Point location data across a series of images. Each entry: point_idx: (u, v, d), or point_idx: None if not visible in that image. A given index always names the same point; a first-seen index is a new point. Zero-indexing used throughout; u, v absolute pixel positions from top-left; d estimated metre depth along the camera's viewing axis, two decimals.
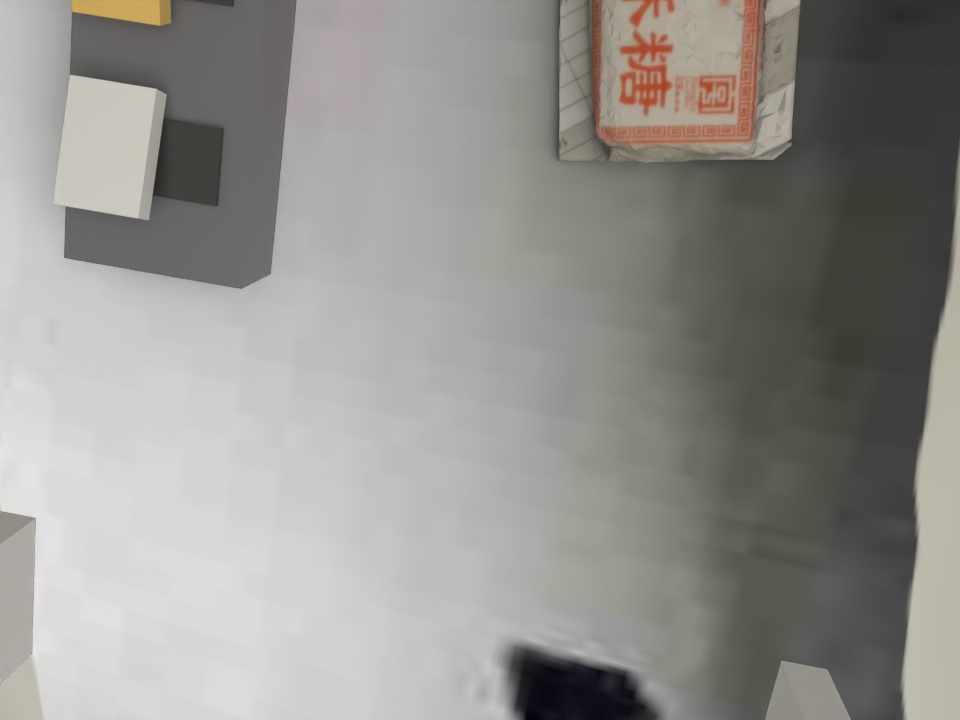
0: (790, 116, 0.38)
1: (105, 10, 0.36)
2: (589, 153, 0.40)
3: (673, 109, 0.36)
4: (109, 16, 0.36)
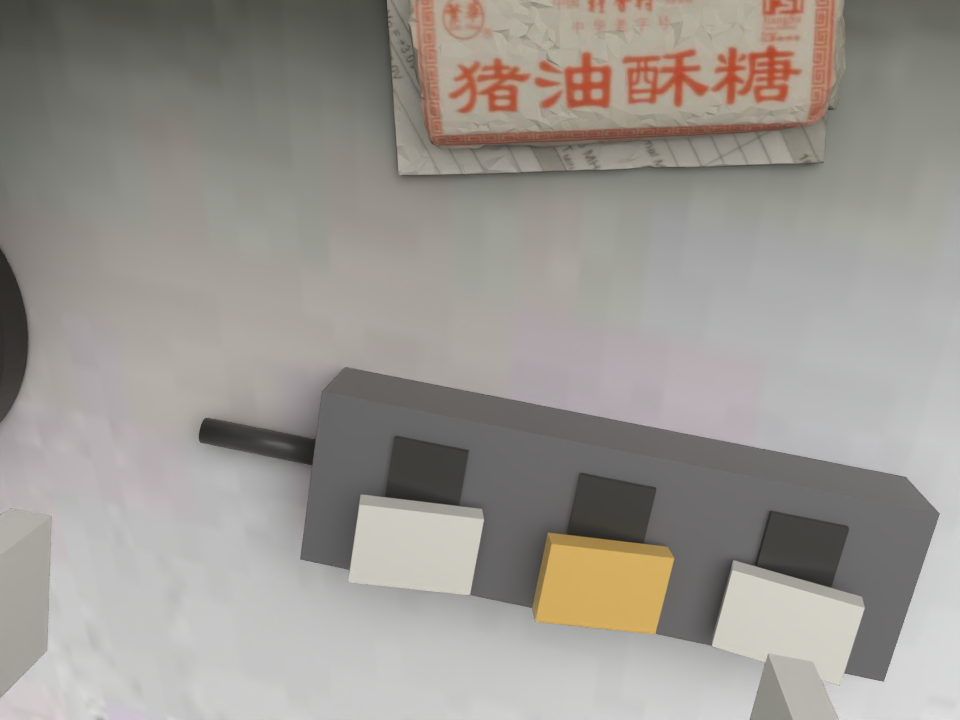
0: None
1: (656, 604, 0.38)
2: (819, 129, 0.37)
3: (796, 41, 0.33)
4: (662, 602, 0.38)
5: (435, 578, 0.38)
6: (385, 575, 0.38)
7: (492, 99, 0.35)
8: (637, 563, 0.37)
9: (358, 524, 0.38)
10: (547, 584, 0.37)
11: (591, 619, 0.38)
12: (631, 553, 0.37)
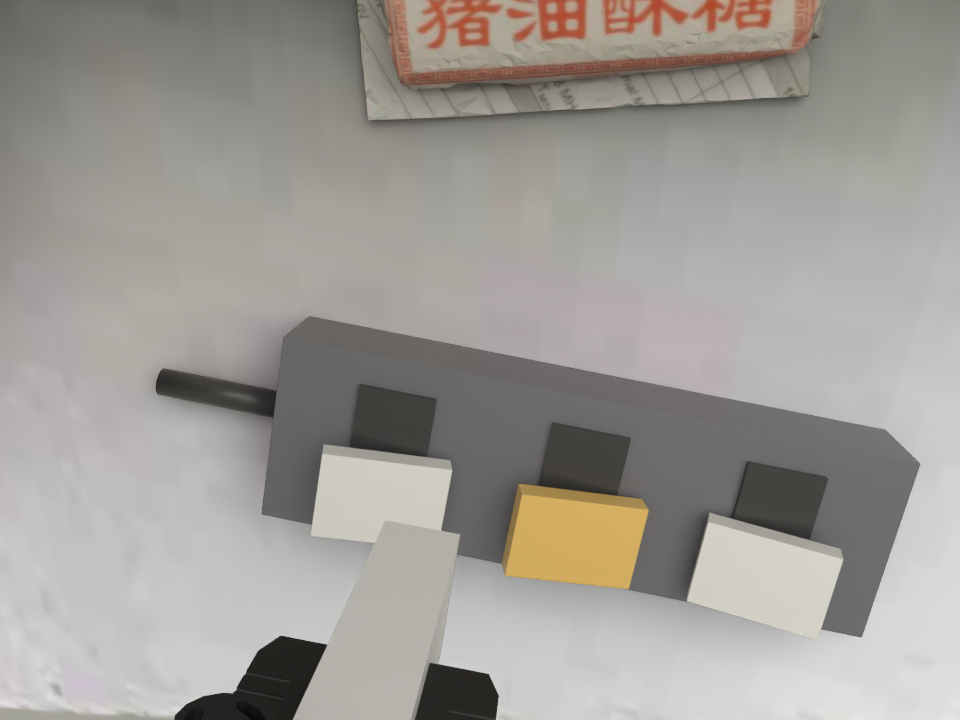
0: None
1: (630, 558, 0.37)
2: (803, 61, 0.36)
3: None
4: (636, 555, 0.37)
5: None
6: (349, 528, 0.37)
7: (463, 32, 0.33)
8: (611, 515, 0.36)
9: (321, 474, 0.36)
10: (517, 536, 0.36)
11: (563, 573, 0.37)
12: (604, 504, 0.36)
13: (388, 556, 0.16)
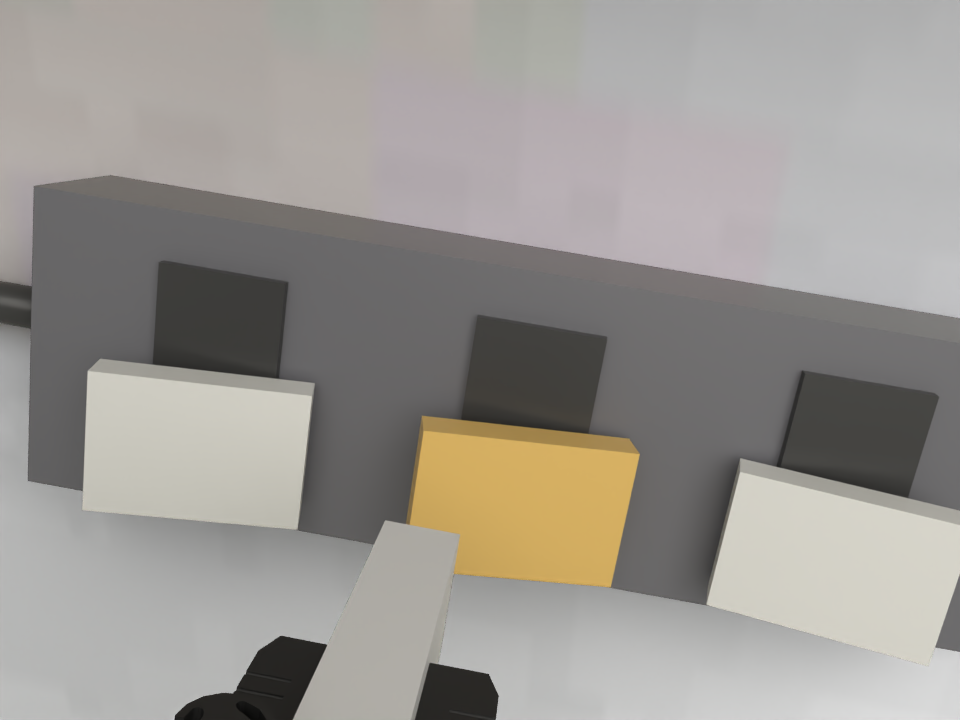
0: None
1: (611, 536, 0.22)
2: None
3: None
4: (621, 531, 0.22)
5: (235, 502, 0.23)
6: (145, 496, 0.22)
7: None
8: (576, 464, 0.22)
9: (89, 407, 0.21)
10: (420, 503, 0.21)
11: (500, 563, 0.22)
12: (565, 446, 0.21)
13: (388, 556, 0.16)
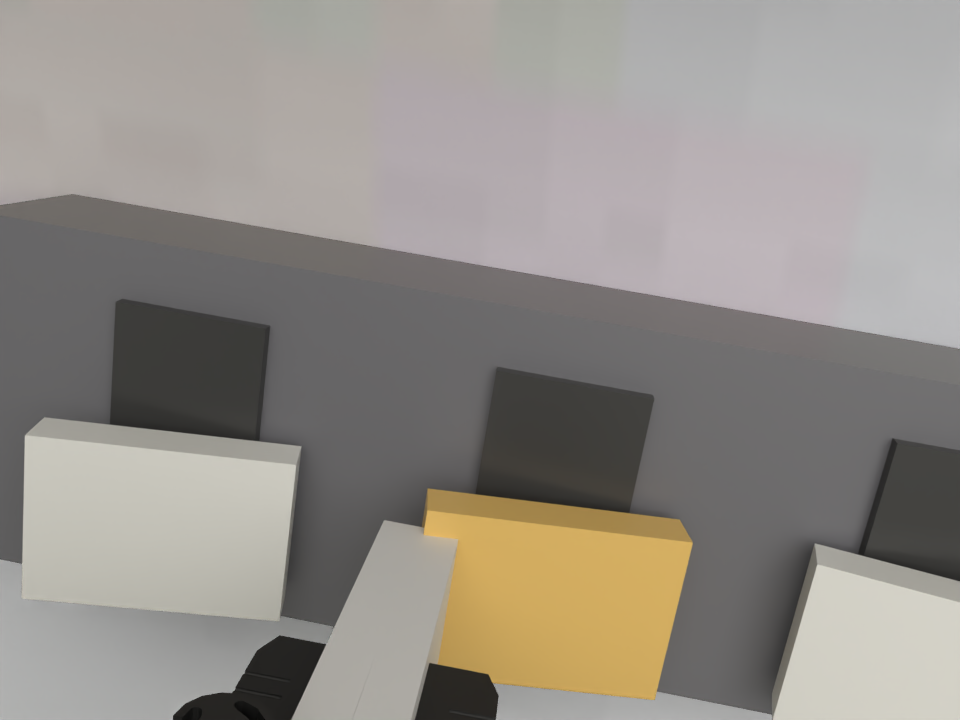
0: None
1: (657, 640, 0.18)
2: None
3: None
4: (668, 634, 0.18)
5: (205, 589, 0.19)
6: (97, 583, 0.19)
7: None
8: (614, 554, 0.18)
9: (28, 478, 0.18)
10: None
11: (520, 669, 0.18)
12: (600, 532, 0.17)
13: (386, 556, 0.16)
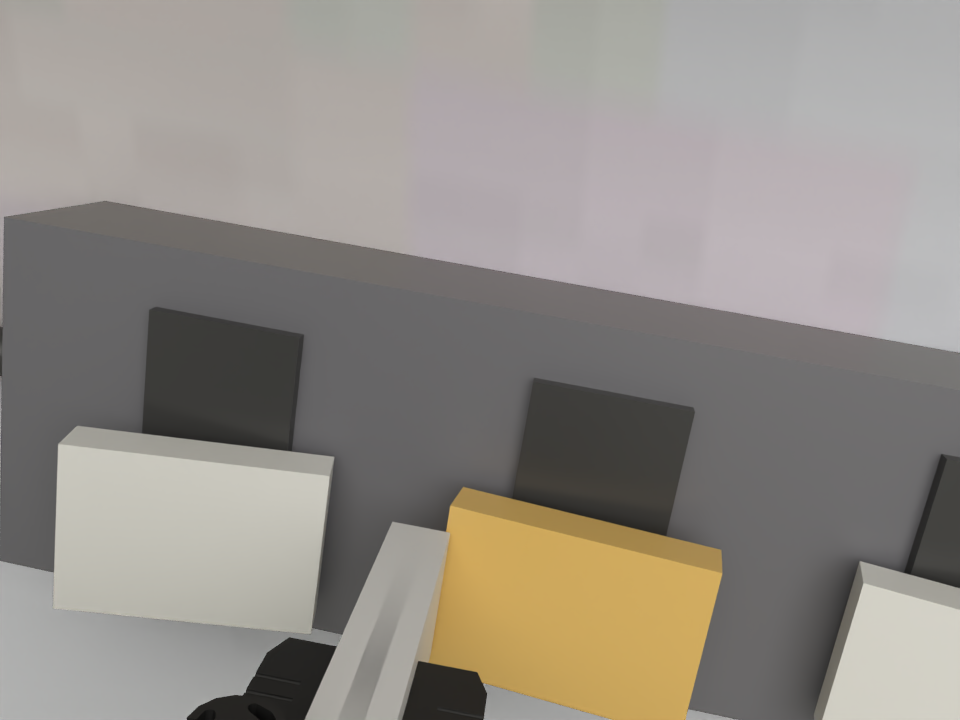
0: None
1: (682, 674, 0.17)
2: None
3: None
4: (695, 670, 0.17)
5: (236, 601, 0.19)
6: (128, 593, 0.18)
7: None
8: (636, 574, 0.17)
9: (61, 487, 0.18)
10: (445, 591, 0.18)
11: (539, 681, 0.18)
12: (623, 549, 0.17)
13: (395, 557, 0.16)
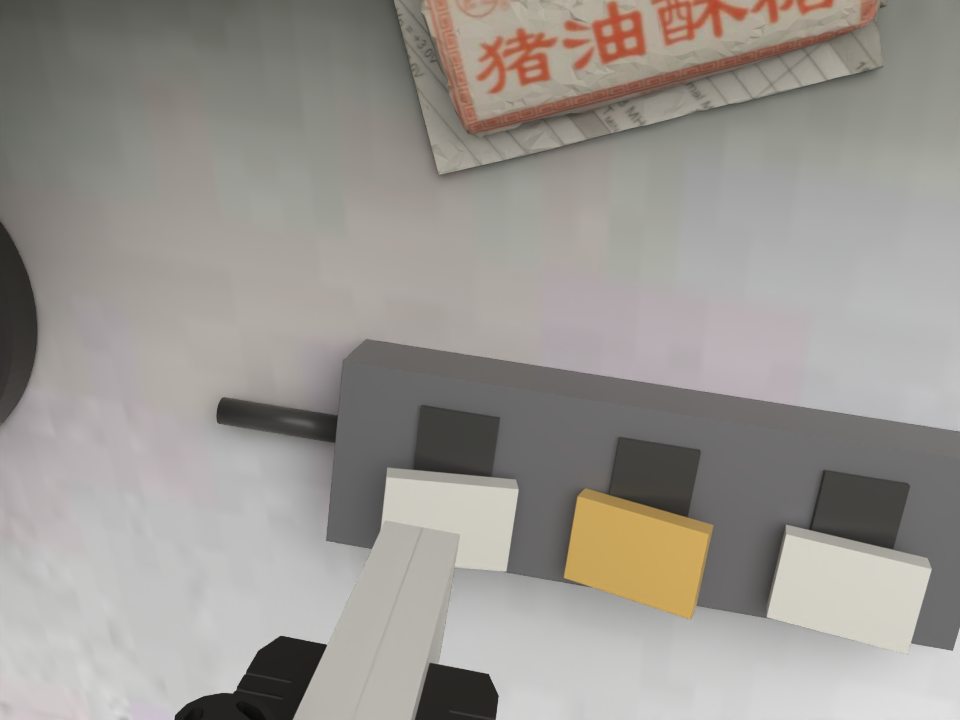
0: None
1: (691, 585, 0.35)
2: (871, 32, 0.34)
3: None
4: (697, 583, 0.34)
5: (469, 554, 0.36)
6: None
7: (522, 72, 0.33)
8: (667, 533, 0.35)
9: (386, 498, 0.35)
10: (574, 539, 0.36)
11: (620, 587, 0.36)
12: (661, 520, 0.35)
13: (388, 556, 0.16)
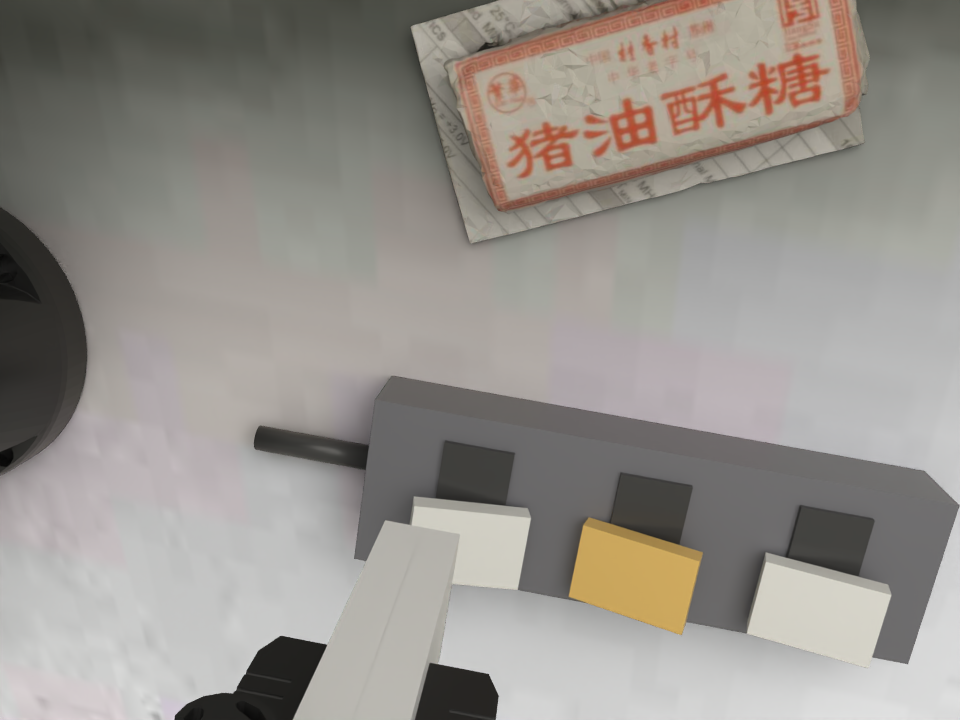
0: None
1: (682, 605, 0.39)
2: (853, 114, 0.39)
3: (820, 44, 0.35)
4: (688, 603, 0.39)
5: (485, 574, 0.41)
6: None
7: (548, 159, 0.38)
8: (663, 559, 0.39)
9: (413, 524, 0.40)
10: (579, 563, 0.41)
11: (619, 606, 0.40)
12: (657, 548, 0.39)
13: (388, 556, 0.16)
